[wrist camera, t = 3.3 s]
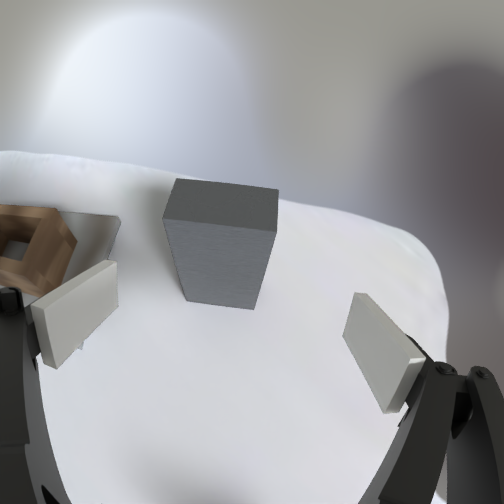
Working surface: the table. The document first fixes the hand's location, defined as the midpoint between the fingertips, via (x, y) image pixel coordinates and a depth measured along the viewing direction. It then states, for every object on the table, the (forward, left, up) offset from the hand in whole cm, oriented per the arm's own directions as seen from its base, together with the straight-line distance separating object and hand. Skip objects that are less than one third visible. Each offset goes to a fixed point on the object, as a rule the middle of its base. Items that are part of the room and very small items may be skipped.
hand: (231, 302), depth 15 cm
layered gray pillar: (-1, +5, -10) cm, 11 cm away
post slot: (-23, +4, -10) cm, 25 cm away
